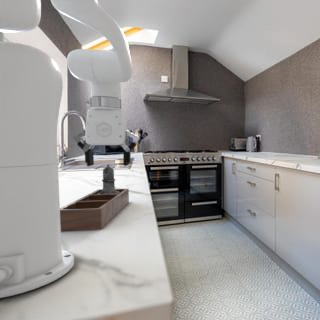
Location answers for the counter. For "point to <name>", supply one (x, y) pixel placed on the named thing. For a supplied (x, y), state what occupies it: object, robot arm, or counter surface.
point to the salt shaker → (108, 181)
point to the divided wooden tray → (93, 210)
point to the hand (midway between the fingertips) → (108, 165)
